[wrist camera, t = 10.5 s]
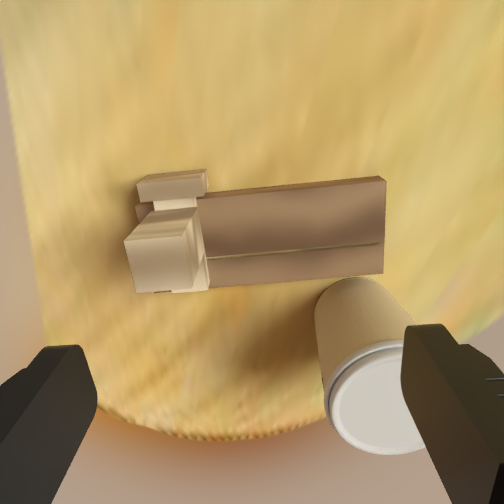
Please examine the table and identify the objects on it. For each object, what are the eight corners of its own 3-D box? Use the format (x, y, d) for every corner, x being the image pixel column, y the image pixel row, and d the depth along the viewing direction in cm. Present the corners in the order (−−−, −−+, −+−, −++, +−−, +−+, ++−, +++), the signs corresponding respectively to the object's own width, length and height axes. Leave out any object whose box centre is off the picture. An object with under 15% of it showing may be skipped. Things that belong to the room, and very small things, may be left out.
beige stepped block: (148, 174, 31) (104, 207, 22) (206, 169, 30) (185, 199, 22) (169, 277, 34) (139, 340, 25) (221, 272, 34) (209, 335, 25)
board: (141, 199, 32) (134, 205, 30) (378, 175, 31) (386, 181, 29) (159, 282, 35) (154, 292, 33) (376, 263, 34) (383, 273, 32)
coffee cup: (287, 330, 37) (301, 431, 26) (337, 252, 34) (377, 329, 23) (367, 365, 38) (412, 474, 27) (423, 293, 35) (499, 385, 24)
